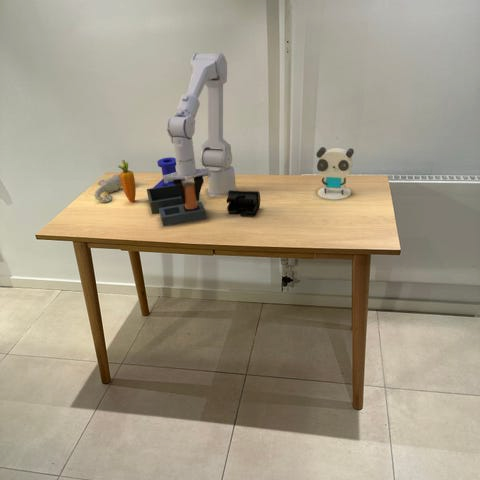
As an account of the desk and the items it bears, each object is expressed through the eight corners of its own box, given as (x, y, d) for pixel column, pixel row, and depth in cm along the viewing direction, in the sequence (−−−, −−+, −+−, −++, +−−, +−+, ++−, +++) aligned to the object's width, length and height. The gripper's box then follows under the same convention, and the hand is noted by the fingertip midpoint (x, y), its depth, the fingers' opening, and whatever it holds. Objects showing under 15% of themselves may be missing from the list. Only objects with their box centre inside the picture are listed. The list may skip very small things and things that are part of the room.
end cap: (260, 207, 157) (260, 188, 152) (256, 217, 151) (255, 197, 147) (232, 206, 159) (230, 187, 155) (226, 215, 153) (224, 195, 149)
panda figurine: (312, 197, 161) (313, 153, 152) (320, 185, 169) (322, 142, 160) (347, 201, 157) (350, 155, 148) (353, 188, 165) (357, 144, 156)
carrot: (136, 206, 164) (127, 163, 155) (123, 206, 165) (113, 163, 156) (141, 200, 168) (133, 158, 159) (128, 200, 169) (119, 158, 160)
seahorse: (118, 201, 166) (139, 172, 179) (87, 190, 165) (110, 162, 179) (117, 212, 169) (138, 184, 183) (87, 202, 169) (109, 174, 182)
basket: (189, 195, 169) (187, 182, 166) (195, 208, 159) (193, 195, 157) (148, 201, 167) (146, 189, 164) (152, 215, 157) (150, 202, 154)
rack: (160, 217, 155) (158, 208, 153) (202, 211, 157) (201, 201, 155) (163, 227, 149) (161, 217, 147) (206, 220, 151) (205, 210, 149)
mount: (169, 176, 186) (166, 153, 180) (187, 177, 184) (184, 154, 178) (153, 190, 174) (149, 167, 169) (172, 192, 172) (168, 168, 167)
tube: (196, 203, 153) (193, 181, 149) (198, 208, 150) (195, 185, 146) (184, 205, 153) (181, 182, 148) (186, 210, 150) (183, 187, 145)
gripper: (162, 166, 138) (169, 209, 146) (211, 159, 140) (215, 202, 148) (160, 158, 143) (166, 200, 151) (206, 152, 146) (210, 193, 154)
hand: (190, 201), depth 150 cm, fingers closed on tube, 4 cm apart
